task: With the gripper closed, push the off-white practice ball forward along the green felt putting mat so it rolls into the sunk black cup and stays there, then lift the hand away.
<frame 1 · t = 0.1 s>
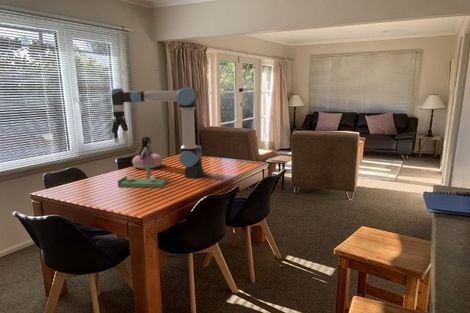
hand: (121, 141, 233), 28 cm above the table, fingers open, 13 cm apart
cushion: (148, 167, 278), on the table
figurine: (148, 176, 246), on the table
ball: (152, 178, 223), point 4 cm above the table, touching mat
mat: (143, 184, 225), on the table
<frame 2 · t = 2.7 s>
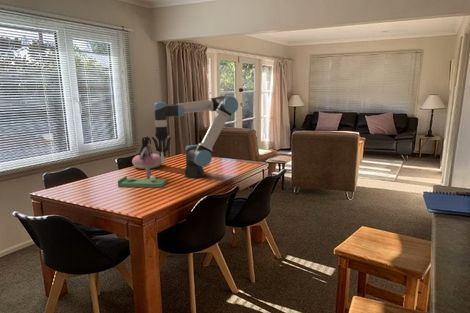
hand: (163, 161, 220), 16 cm above the table, fingers closed
nothing on the table moved.
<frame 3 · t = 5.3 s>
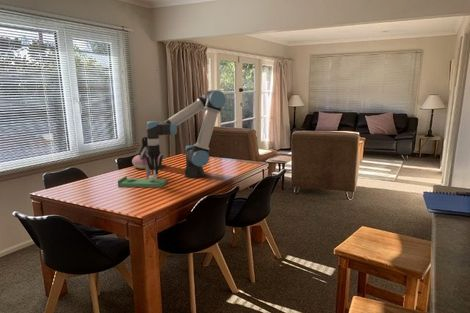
hand: (155, 178, 223), 4 cm above the table, fingers closed
ball: (151, 178, 223), point 4 cm above the table, tilted 21°, touching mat
everything else where it was.
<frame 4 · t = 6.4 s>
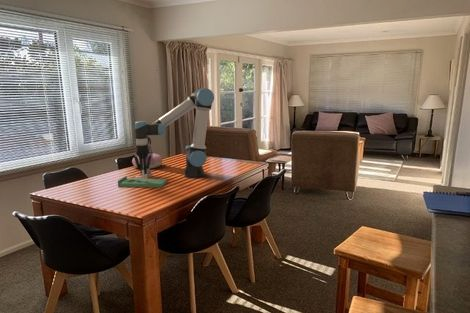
hand: (144, 178, 224), 4 cm above the table, fingers closed
ball: (138, 178, 224), point 4 cm above the table, tilted 71°, touching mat
everything else where it was.
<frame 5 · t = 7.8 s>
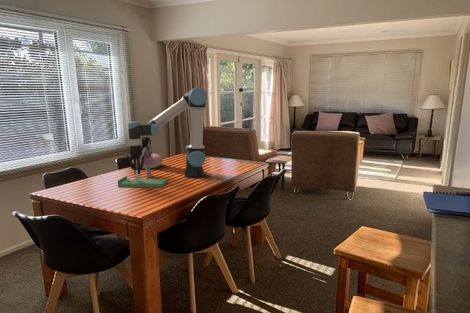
hand: (137, 178, 224), 4 cm above the table, fingers closed
ball: (132, 181, 225), point 2 cm above the table, tilted 71°, touching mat
everything else where it was.
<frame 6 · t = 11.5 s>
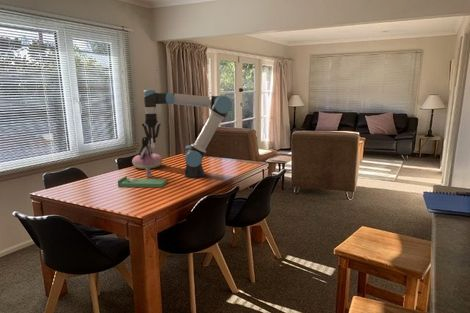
hand: (152, 147, 226), 24 cm above the table, fingers closed
nothing on the table moved.
at the end: ball 0.6 cm from the target spot in the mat, point 2.2 cm above the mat's base; ball touching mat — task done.
